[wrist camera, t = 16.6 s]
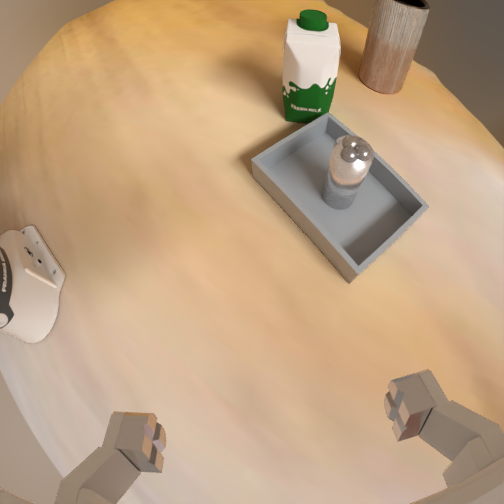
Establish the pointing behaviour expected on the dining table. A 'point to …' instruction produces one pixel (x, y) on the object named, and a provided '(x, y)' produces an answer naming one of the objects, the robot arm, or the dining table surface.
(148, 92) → the dining table surface
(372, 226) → the bin
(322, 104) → the milk carton
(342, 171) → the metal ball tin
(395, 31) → the planter
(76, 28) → the dining table surface
